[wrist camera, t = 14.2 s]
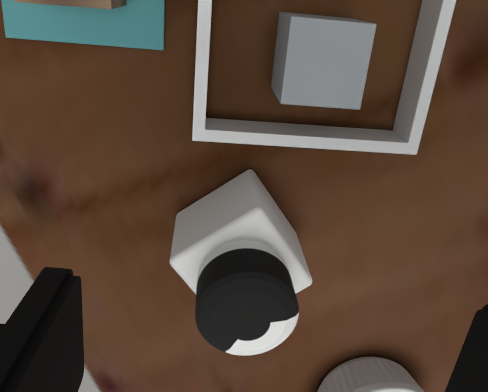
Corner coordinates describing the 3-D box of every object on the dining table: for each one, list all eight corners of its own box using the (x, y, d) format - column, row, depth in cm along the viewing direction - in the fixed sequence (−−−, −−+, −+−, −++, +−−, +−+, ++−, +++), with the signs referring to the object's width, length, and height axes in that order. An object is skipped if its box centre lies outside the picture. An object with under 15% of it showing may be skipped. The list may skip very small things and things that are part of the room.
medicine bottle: (174, 213, 36) (159, 312, 25) (251, 165, 35) (269, 248, 24) (224, 275, 39) (230, 388, 28) (297, 233, 38) (332, 334, 27)
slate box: (352, 18, 31) (376, 24, 27) (339, 92, 33) (359, 109, 29) (279, 11, 31) (291, 16, 26) (270, 87, 33) (280, 103, 28)
